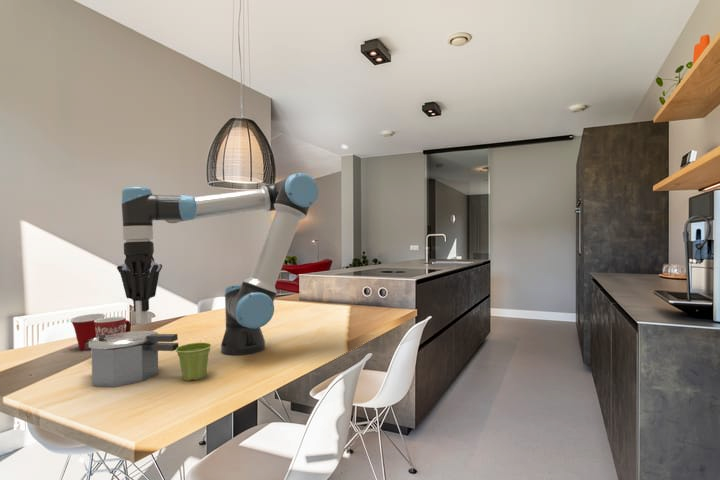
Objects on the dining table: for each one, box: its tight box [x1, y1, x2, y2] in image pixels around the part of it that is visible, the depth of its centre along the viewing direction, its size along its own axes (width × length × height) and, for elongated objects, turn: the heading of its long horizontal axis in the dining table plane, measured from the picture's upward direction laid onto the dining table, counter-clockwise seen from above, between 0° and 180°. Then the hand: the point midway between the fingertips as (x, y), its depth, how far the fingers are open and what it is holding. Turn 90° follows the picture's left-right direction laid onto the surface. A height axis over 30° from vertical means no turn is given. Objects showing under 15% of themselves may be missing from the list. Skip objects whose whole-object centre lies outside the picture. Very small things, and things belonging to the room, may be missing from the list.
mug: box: [94, 316, 132, 337], centre depth 132 cm, size 13×9×14 cm
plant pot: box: [175, 342, 212, 382], centre depth 111 cm, size 9×9×9 cm
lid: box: [88, 330, 179, 349], centre depth 112 cm, size 25×17×3 cm
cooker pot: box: [85, 342, 179, 388], centre depth 113 cm, size 28×16×10 cm, turn 81°
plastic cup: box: [69, 313, 106, 351], centre depth 145 cm, size 11×11×12 cm
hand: (142, 322), depth 112 cm, fingers closed
